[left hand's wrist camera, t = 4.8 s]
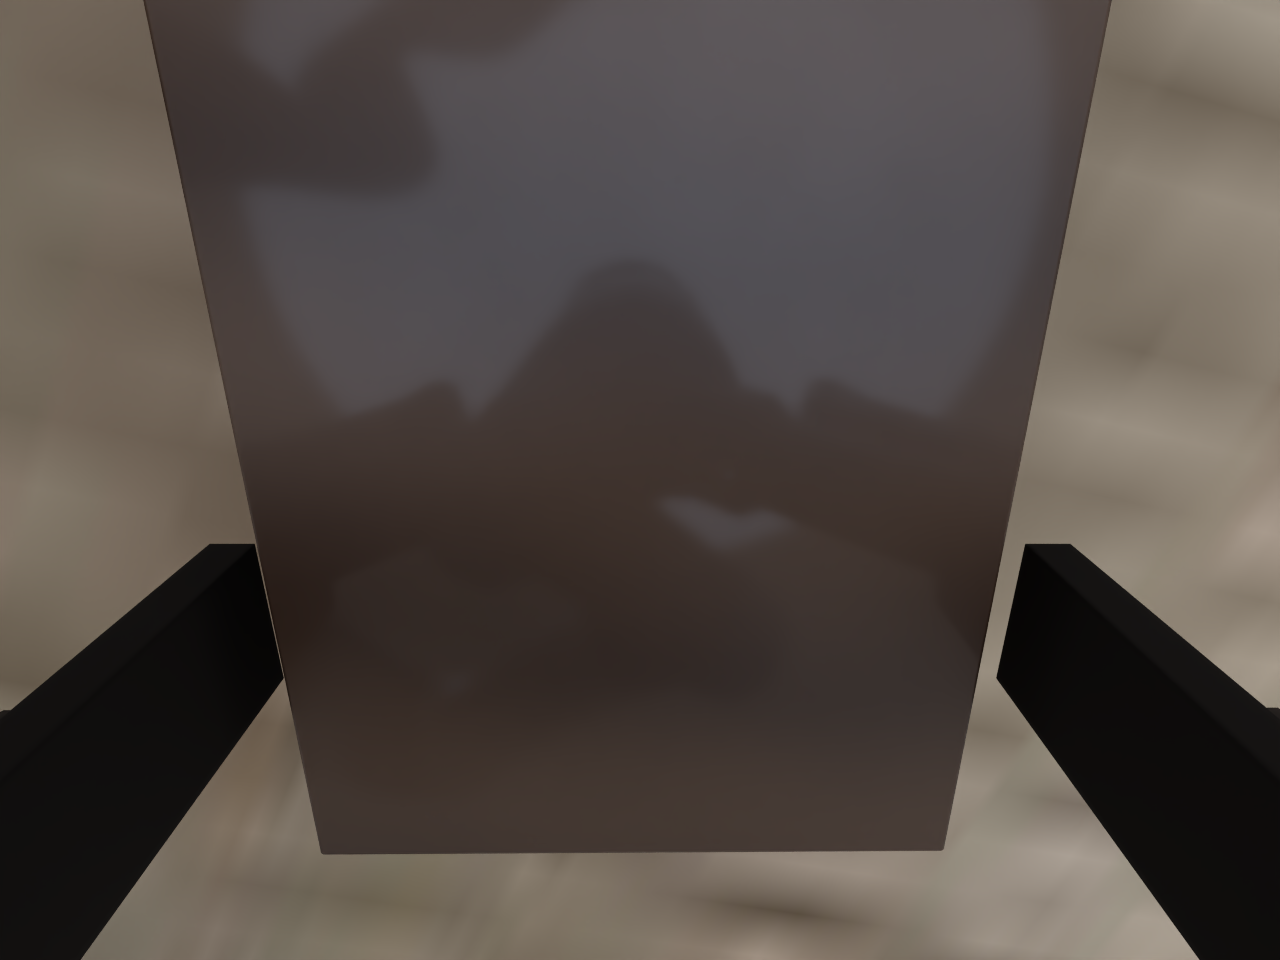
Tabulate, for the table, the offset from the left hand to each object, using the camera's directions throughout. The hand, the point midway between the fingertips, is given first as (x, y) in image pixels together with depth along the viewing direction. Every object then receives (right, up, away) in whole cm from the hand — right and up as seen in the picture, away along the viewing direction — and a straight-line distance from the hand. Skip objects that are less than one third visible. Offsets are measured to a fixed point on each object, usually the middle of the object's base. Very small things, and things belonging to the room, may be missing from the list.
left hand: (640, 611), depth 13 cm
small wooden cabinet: (0, +10, +7) cm, 12 cm away
